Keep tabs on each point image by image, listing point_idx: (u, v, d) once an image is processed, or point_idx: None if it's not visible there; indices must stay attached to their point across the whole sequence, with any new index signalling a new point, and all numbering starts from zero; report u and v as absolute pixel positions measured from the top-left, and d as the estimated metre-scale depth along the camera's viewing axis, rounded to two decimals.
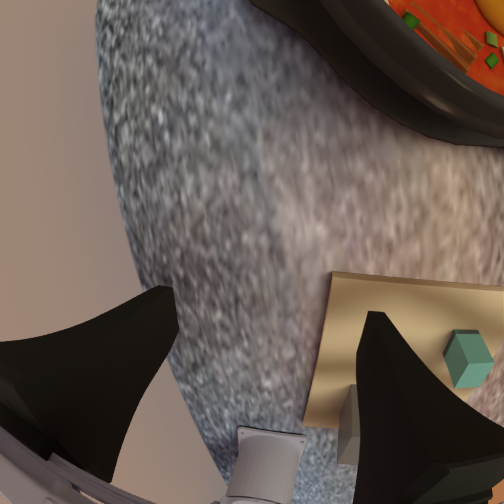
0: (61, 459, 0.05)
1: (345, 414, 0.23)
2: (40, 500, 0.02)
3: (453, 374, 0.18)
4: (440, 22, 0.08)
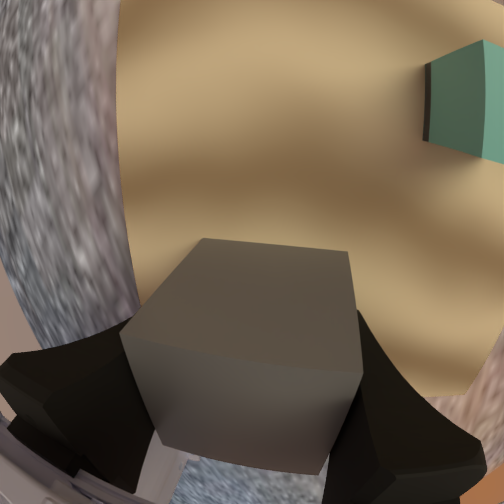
0: (90, 476, 0.05)
1: None
2: (40, 500, 0.02)
3: (464, 130, 0.05)
4: None
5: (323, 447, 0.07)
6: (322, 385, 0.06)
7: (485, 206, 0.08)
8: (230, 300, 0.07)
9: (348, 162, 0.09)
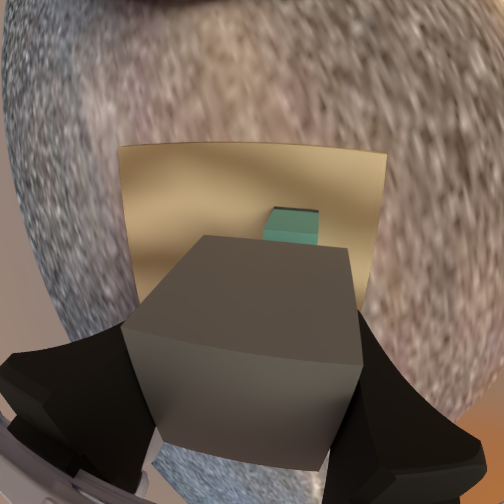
0: (90, 476, 0.05)
1: None
2: (40, 500, 0.02)
3: None
4: None
5: (323, 442, 0.07)
6: (322, 378, 0.06)
7: None
8: (231, 295, 0.08)
9: None
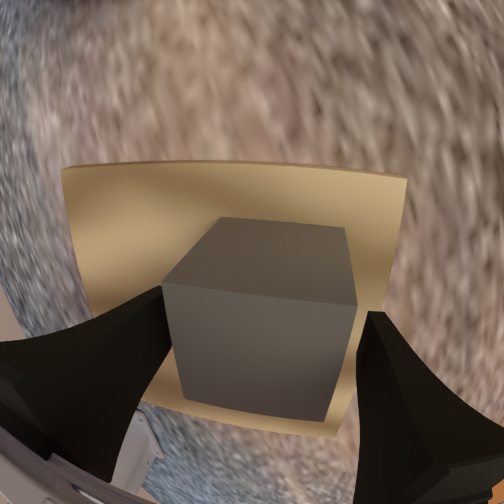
0: (61, 459, 0.05)
1: None
2: (40, 500, 0.02)
3: None
4: None
5: (328, 387, 0.09)
6: (326, 318, 0.07)
7: None
8: (250, 258, 0.09)
9: None
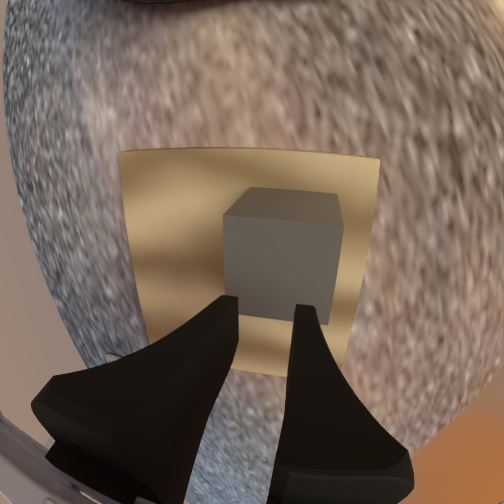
0: (150, 503, 0.04)
1: None
2: (40, 500, 0.02)
3: None
4: None
5: (329, 290, 0.14)
6: (325, 234, 0.13)
7: None
8: (276, 206, 0.15)
9: None
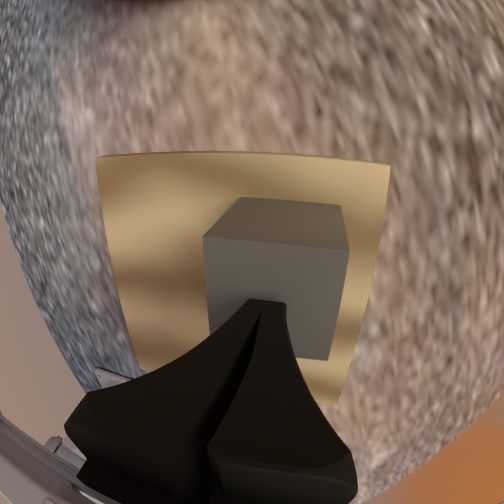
0: None
1: None
2: (40, 500, 0.02)
3: None
4: None
5: (330, 323, 0.11)
6: (327, 261, 0.10)
7: None
8: (268, 223, 0.12)
9: None
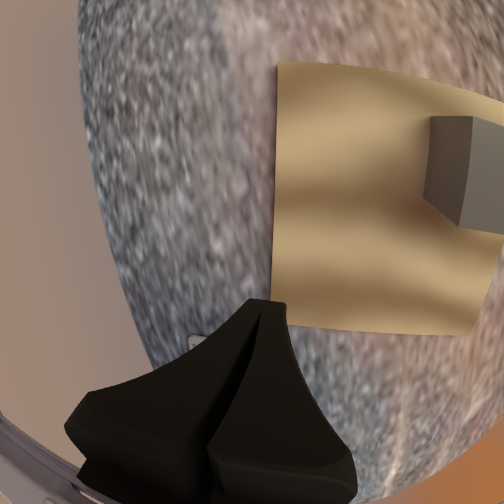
0: None
1: (438, 156, 0.14)
2: (40, 500, 0.02)
3: None
4: None
5: None
6: None
7: None
8: None
9: (407, 193, 0.17)
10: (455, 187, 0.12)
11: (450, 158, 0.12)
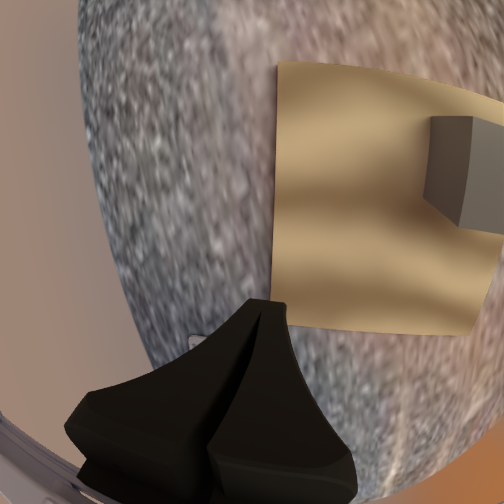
0: None
1: (438, 156, 0.14)
2: (40, 500, 0.02)
3: None
4: None
5: None
6: None
7: None
8: None
9: (407, 193, 0.17)
10: (455, 187, 0.12)
11: (450, 158, 0.12)
